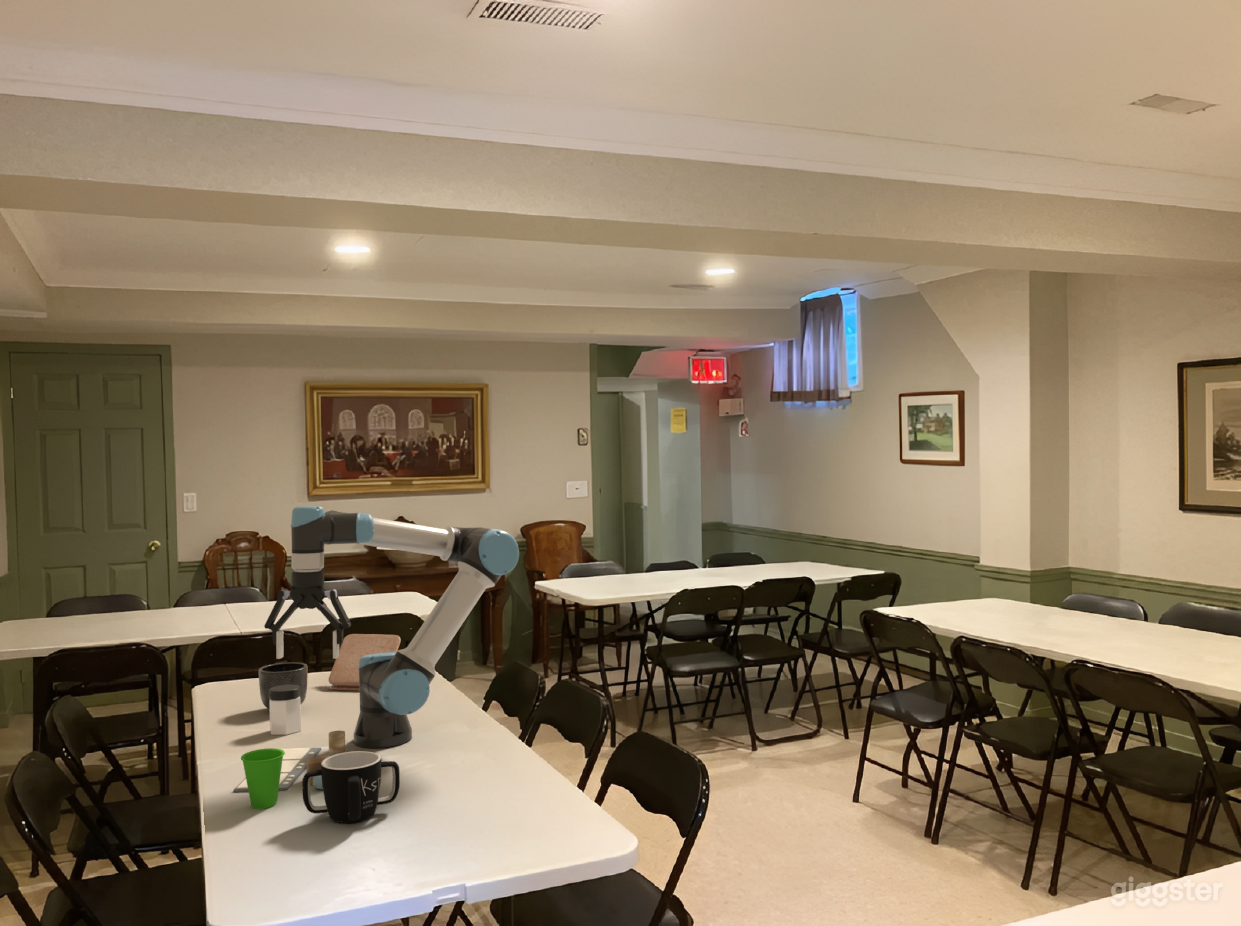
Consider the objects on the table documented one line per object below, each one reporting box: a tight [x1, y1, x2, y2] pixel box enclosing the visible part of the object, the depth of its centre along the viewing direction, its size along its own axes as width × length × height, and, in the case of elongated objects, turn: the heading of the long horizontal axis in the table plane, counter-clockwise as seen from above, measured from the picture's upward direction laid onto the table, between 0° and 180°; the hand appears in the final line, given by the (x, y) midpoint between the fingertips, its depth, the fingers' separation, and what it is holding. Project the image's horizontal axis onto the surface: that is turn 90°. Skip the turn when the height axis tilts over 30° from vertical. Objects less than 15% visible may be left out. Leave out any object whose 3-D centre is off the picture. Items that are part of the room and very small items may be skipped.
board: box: [233, 747, 322, 793], centre depth 234 cm, size 12×30×1 cm, turn 3°
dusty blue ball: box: [312, 776, 323, 790], centre depth 219 cm, size 4×4×4 cm
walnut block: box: [306, 754, 329, 786], centre depth 225 cm, size 5×5×5 cm
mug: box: [301, 750, 401, 824], centre depth 202 cm, size 16×16×12 cm
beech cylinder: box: [328, 730, 346, 755], centre depth 243 cm, size 4×4×6 cm
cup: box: [240, 747, 285, 810], centre depth 210 cm, size 9×9×11 cm
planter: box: [258, 662, 309, 710], centre depth 290 cm, size 14×14×13 cm
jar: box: [268, 685, 302, 736], centre depth 267 cm, size 9×8×12 cm
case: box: [328, 633, 402, 692], centre depth 322 cm, size 20×21×16 cm
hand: (308, 657), depth 233 cm, fingers open, 13 cm apart
